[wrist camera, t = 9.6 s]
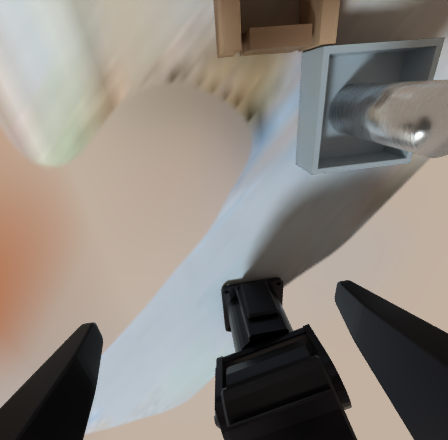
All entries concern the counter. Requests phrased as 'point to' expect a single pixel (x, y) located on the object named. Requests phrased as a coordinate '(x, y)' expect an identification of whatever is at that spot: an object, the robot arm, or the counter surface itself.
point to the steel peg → (395, 115)
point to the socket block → (276, 30)
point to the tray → (345, 75)
